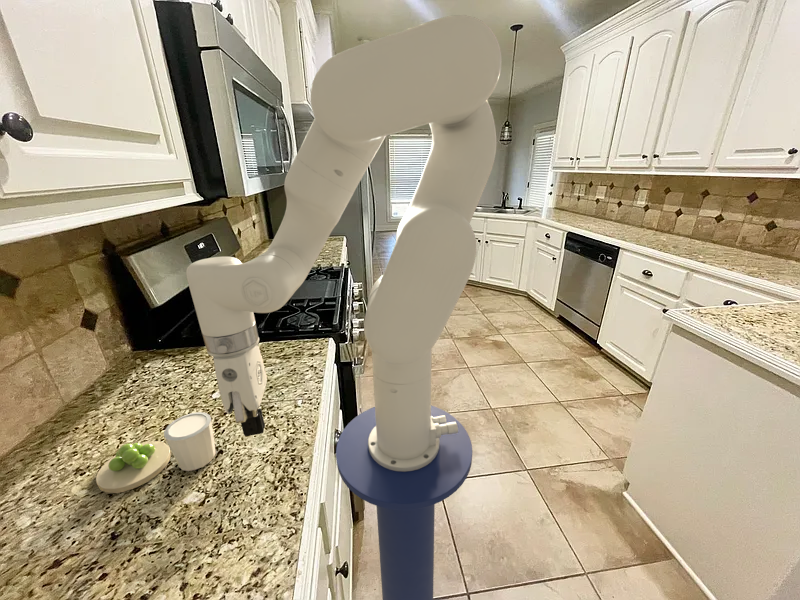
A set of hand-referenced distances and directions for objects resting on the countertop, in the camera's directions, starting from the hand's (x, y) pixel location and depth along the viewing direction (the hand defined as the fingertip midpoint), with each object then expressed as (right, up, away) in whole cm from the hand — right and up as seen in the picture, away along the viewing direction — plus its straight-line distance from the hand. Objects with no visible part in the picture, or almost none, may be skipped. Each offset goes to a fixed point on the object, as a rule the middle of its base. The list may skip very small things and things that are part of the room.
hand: (254, 431), depth 60 cm
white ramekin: (-10, -5, 0) cm, 11 cm away
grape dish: (-19, -5, -2) cm, 20 cm away
